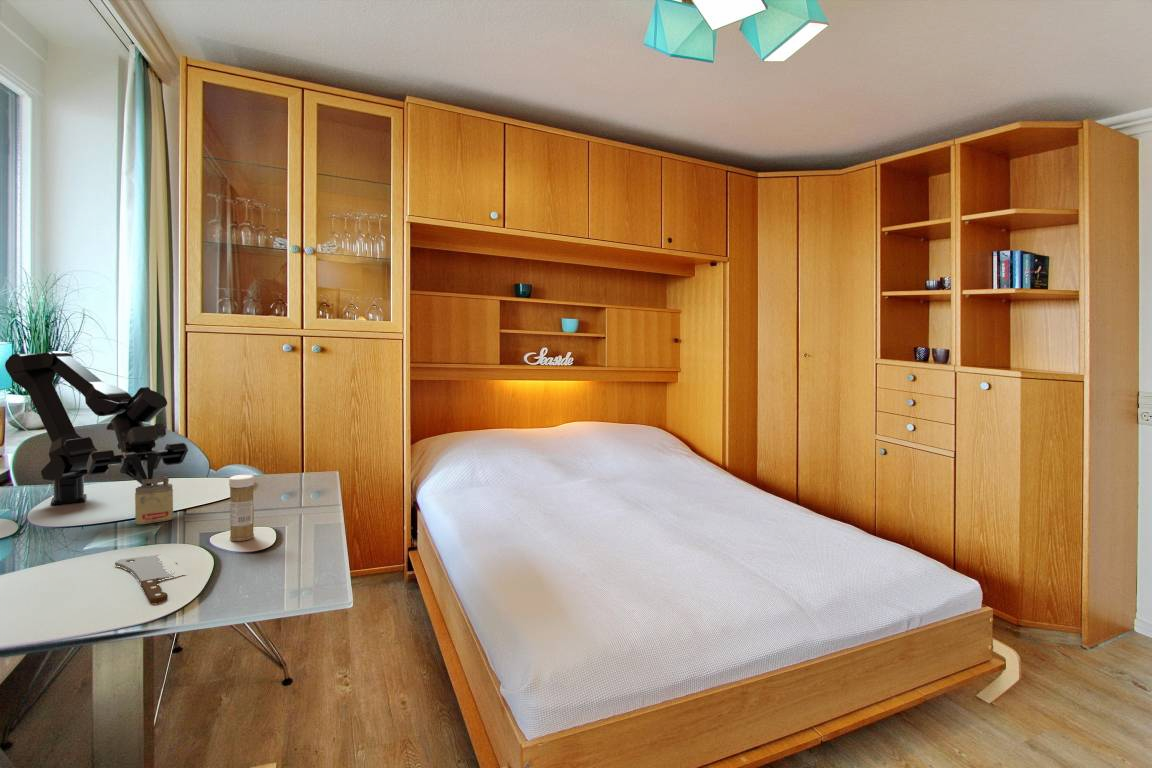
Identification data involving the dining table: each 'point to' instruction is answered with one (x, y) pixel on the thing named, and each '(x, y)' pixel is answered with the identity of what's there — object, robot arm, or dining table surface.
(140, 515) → the beige handled case
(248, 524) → the sprinkles bottle
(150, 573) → the kitchen cleaver
